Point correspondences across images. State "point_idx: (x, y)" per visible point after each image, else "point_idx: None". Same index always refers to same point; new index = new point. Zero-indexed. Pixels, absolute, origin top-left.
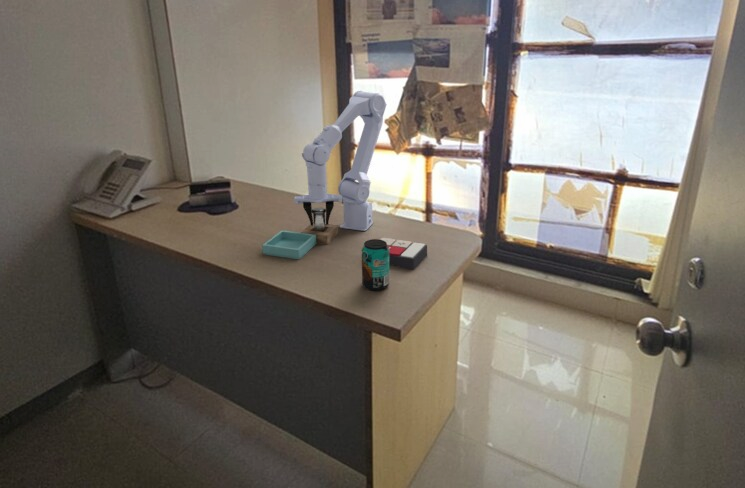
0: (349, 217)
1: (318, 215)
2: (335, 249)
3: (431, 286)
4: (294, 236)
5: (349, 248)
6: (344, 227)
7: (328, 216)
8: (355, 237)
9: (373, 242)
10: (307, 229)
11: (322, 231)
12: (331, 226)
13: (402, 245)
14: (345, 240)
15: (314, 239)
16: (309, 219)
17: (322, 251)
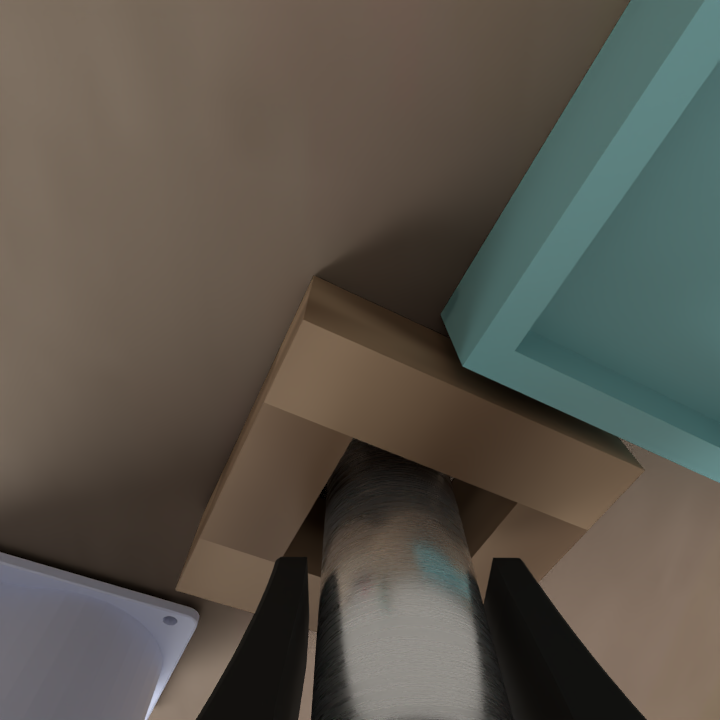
0: (39, 709)
1: (436, 714)
2: (204, 95)
3: None
4: (704, 425)
5: (10, 100)
6: (149, 603)
7: (237, 683)
8: (8, 415)
9: None
10: (544, 528)
11: (363, 476)
12: (250, 571)
13: None
14: (108, 356)
15: (483, 298)
16: (582, 643)
17: (386, 48)
